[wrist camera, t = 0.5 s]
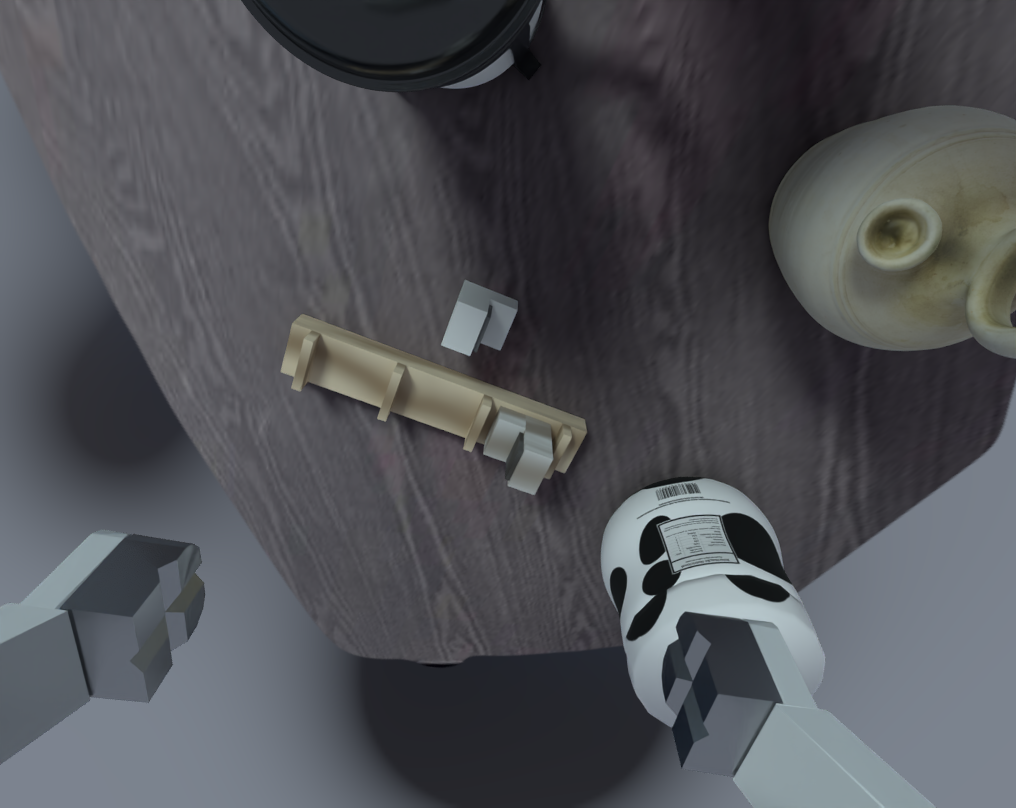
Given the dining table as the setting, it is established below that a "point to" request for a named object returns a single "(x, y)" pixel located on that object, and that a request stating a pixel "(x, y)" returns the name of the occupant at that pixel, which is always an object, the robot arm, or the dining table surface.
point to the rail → (436, 399)
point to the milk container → (697, 576)
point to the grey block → (479, 319)
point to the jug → (905, 230)
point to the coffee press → (405, 39)
